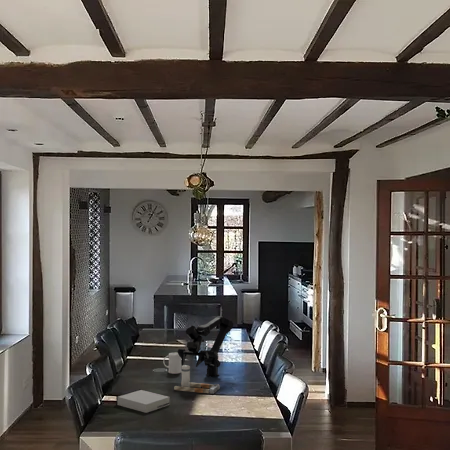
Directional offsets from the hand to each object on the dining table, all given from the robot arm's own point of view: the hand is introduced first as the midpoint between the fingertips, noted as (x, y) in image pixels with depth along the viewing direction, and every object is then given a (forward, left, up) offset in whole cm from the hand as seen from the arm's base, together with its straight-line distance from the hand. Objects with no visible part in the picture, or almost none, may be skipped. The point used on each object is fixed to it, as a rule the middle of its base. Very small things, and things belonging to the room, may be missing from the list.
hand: (189, 365), depth 352 cm
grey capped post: (+5, +3, -12) cm, 13 cm away
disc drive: (+41, +13, -13) cm, 45 cm away
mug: (-12, -34, -12) cm, 38 cm away
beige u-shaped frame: (+1, +9, -12) cm, 15 cm away
